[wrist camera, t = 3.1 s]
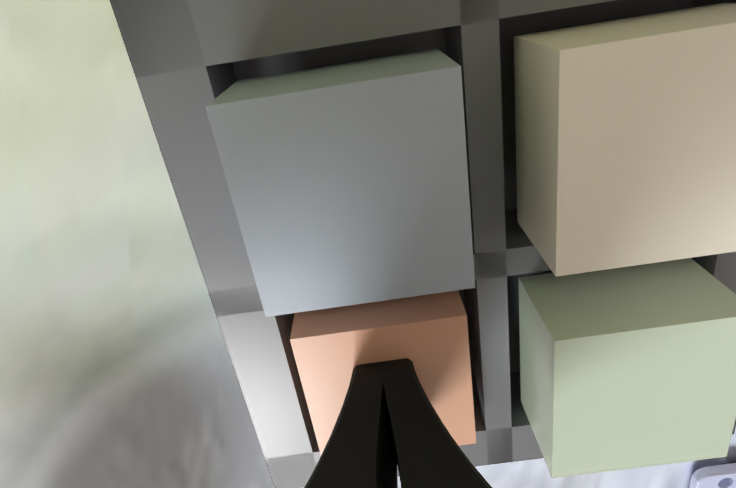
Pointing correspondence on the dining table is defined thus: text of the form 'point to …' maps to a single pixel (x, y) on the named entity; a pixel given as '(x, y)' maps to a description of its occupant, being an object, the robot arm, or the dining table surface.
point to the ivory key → (628, 139)
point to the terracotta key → (387, 355)
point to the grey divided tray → (484, 161)
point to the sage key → (628, 366)
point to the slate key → (350, 180)
